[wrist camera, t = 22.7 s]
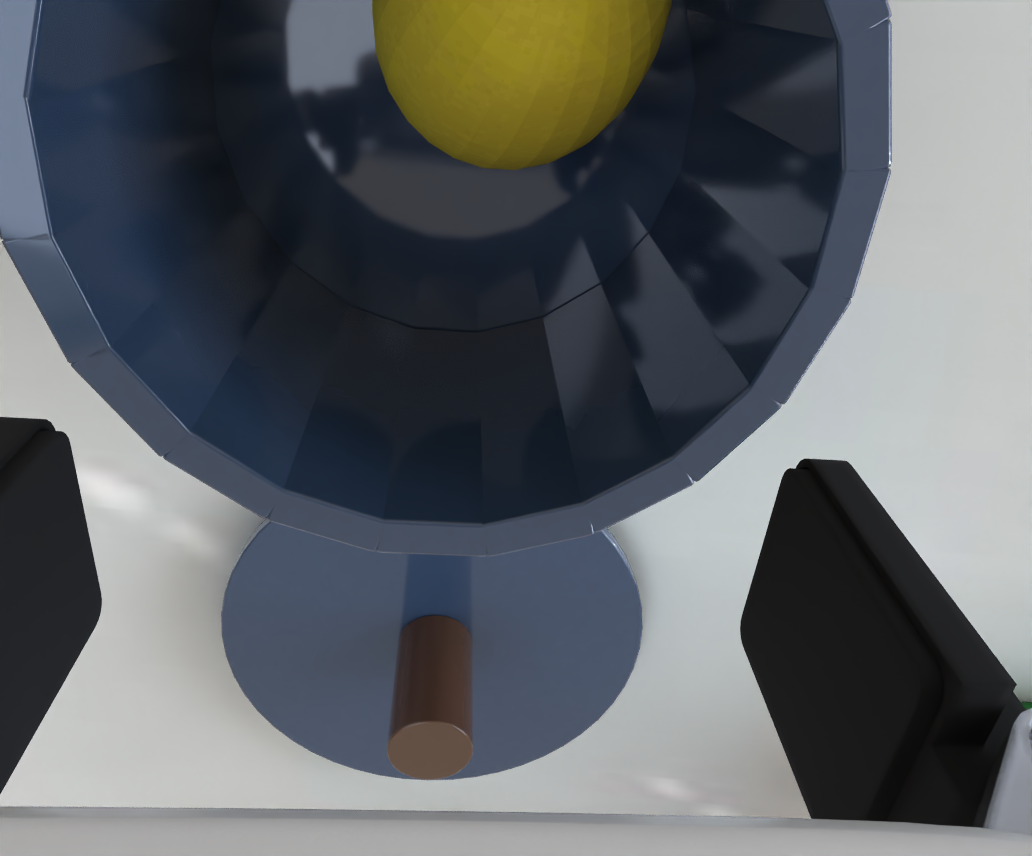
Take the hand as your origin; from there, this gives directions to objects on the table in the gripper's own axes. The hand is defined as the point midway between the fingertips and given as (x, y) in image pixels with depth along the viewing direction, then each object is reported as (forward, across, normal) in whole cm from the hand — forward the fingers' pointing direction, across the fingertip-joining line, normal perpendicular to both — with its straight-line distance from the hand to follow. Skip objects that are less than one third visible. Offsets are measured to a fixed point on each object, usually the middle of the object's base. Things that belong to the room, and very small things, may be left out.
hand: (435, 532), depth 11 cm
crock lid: (+13, 0, +14) cm, 19 cm away
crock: (+14, 0, -3) cm, 14 cm away
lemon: (+13, 0, -4) cm, 13 cm away
